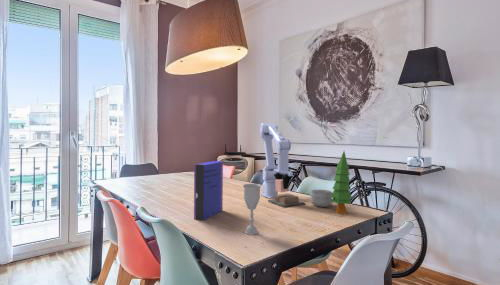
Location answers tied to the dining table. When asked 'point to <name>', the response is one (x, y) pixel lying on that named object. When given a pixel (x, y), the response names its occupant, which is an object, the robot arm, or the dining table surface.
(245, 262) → the dining table surface
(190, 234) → the dining table surface
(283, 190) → the coral block
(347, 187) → the decorative tree
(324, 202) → the teacup
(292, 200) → the base
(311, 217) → the dining table surface
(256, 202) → the chalice
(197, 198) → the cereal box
